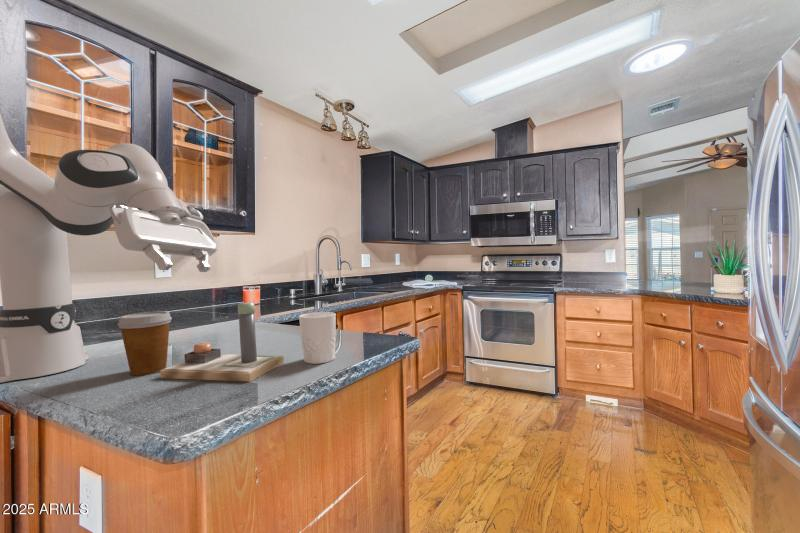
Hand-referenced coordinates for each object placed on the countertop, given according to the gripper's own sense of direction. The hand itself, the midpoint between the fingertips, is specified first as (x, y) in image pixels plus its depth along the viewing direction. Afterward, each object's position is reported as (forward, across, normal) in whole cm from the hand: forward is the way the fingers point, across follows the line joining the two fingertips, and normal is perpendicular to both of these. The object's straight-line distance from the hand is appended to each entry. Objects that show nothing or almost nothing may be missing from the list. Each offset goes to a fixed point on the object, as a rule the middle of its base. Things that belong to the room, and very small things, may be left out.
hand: (187, 269), depth 73 cm
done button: (+13, +7, +12) cm, 19 cm away
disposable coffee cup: (+10, +4, +23) cm, 25 cm away
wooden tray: (+19, +7, +8) cm, 22 cm away
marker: (+20, +8, +3) cm, 22 cm away
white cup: (+28, +16, -6) cm, 33 cm away
